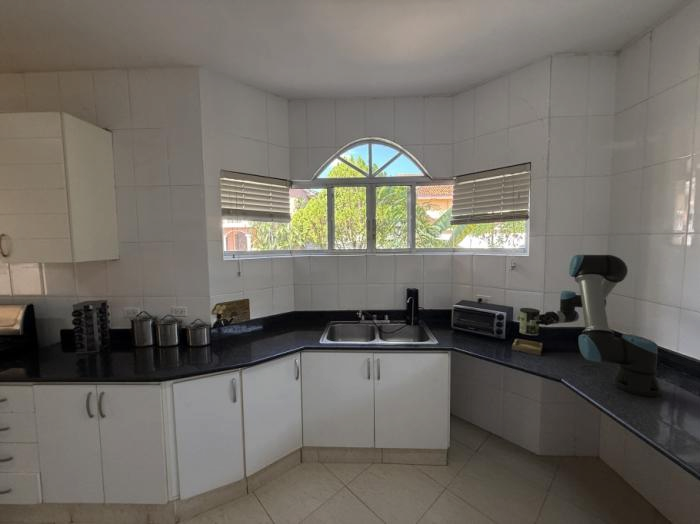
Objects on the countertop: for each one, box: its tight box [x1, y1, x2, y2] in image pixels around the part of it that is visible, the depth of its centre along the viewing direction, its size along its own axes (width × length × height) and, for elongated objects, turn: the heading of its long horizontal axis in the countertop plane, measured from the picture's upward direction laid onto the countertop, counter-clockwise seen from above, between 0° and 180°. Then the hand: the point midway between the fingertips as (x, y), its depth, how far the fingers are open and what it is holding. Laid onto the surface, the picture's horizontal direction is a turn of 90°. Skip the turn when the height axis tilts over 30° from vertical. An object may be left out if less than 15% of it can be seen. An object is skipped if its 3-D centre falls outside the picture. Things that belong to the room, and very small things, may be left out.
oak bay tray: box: [511, 338, 543, 356], centre depth 182 cm, size 14×14×3 cm
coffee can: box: [519, 307, 541, 336], centre depth 180 cm, size 10×10×14 cm
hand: (523, 320), depth 179 cm, fingers closed on coffee can, 10 cm apart
